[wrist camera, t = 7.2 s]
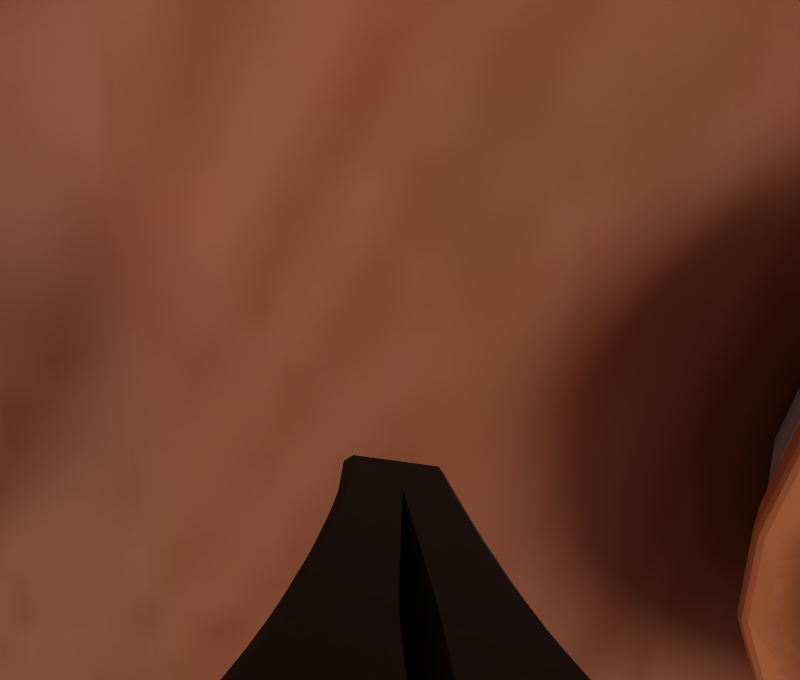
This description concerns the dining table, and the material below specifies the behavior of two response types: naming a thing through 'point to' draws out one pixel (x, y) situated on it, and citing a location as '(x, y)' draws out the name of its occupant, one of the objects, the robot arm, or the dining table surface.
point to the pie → (775, 564)
